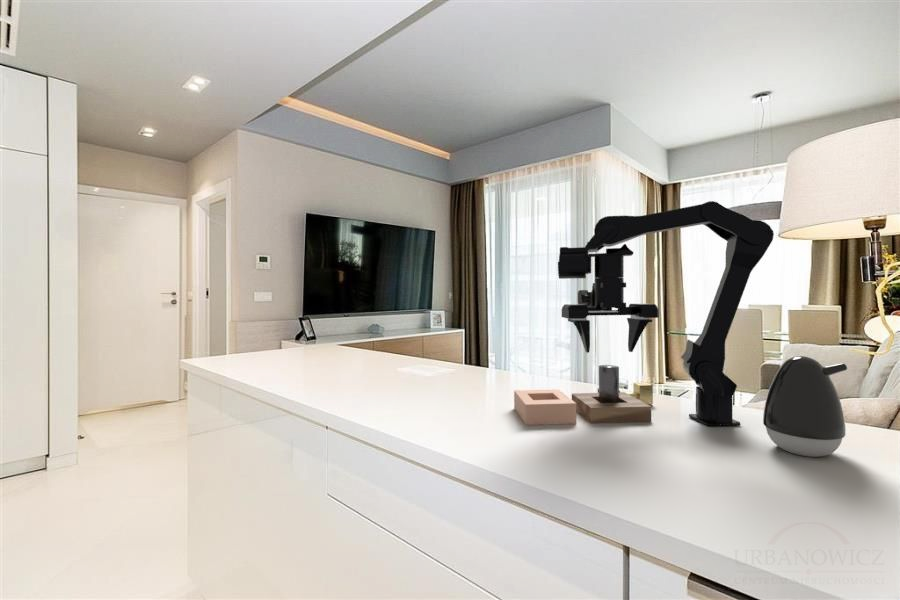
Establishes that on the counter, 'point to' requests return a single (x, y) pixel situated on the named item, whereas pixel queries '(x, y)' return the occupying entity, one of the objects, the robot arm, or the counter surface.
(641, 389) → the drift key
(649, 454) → the counter surface
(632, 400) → the socket block
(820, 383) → the pump dispenser
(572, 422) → the block
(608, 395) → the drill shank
